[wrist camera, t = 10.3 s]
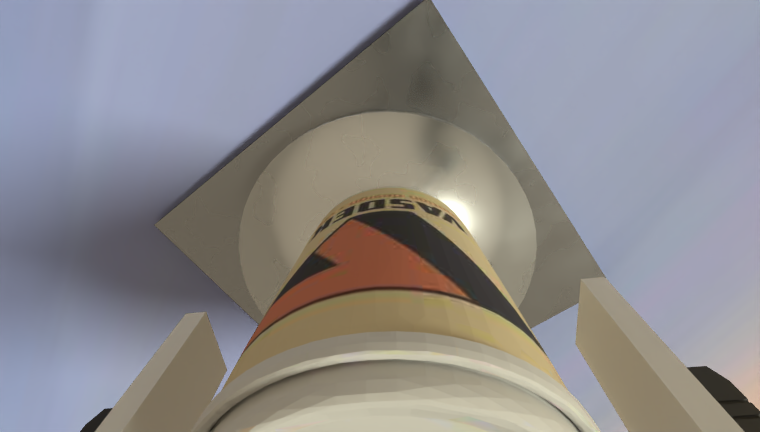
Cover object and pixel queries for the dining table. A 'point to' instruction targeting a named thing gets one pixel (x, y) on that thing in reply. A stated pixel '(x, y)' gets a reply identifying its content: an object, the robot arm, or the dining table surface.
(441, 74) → the flange plate
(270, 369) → the coffee cup
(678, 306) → the dining table surface
